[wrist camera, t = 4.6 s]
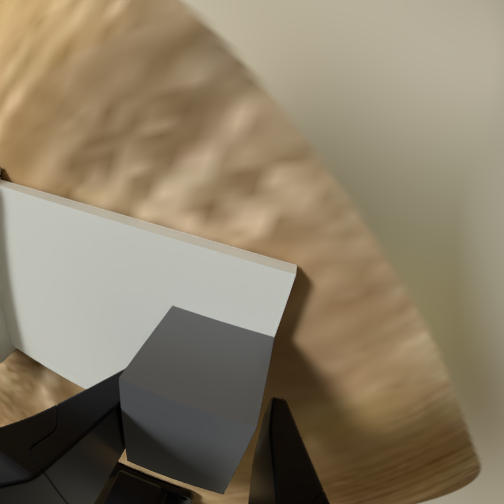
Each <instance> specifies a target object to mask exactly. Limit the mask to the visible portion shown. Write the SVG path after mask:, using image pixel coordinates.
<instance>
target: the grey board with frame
mask: <svg viewBox="0 0 504 504" xmlns="http://www.w3.org/2000/svg"><path fill="white" fill-rule="evenodd" d="M0 173H1V167H0ZM296 270H297V265H295V264H291V263H288V262H284V261H281V260H277V259H274V258H270V257H267V256H264V255H260V254H257V253H253V252H250V251H246V250H243V249H239V248H236V247H232V246H229V245H226V244H222V243H219V242H215V241H212V240H208V239H205V238H201V237H198V236H194V235H191V234H188V233H184V232H181V231H177V230H174V229H170V228H167V227H163V226H160V225H156V224H153V223H150V222H146V221H143V220H139V219H136V218H132V217H129V216H125V215H122V214H118V213H115V212H112V211H108V210H105V209H101V208H98V207H94V206H91V205H87V204H84V203H81V202H77V201H74V200H70V199H67V198H63V197H60V196H56V195H53V194H49V193H46V192H43V191H39V190H36V189H32V188H29V187H25V186H22V185H18V184H15V183H11V182H8V181H5V180H1V179H0V363H2V362H3V361H4V360H5V359H6V358H7V357H8V356H9V355H10V354H11V353H12V352H14V351H15V350H16V349H19V350H20V351H22V352H23V353H25V354H27V355H28V356H30V357H31V358H33V359H34V360H36V361H37V362H39V363H41V364H42V365H44V366H46V367H47V368H49V369H51V370H52V371H54V372H56V373H57V374H59V375H61V376H63V377H64V378H66V379H68V380H70V381H72V382H73V383H75V384H77V385H79V386H81V387H83V388H85V389H88V388H90V387H92V386H94V385H95V384H97V383H99V382H101V381H103V380H105V379H107V378H109V377H110V376H112V375H114V374H116V373H118V372H120V371H122V370H123V369H125V368H126V369H125V370H124V372H123V373H122V374H121V376H120V377H119V390H120V402H121V413H122V423H123V432H124V440H125V448H126V455H127V461H130V462H132V463H134V464H136V465H139V466H141V467H144V468H146V469H148V470H151V471H154V472H156V473H159V474H161V475H164V476H167V477H169V478H172V479H175V480H178V481H181V482H184V483H187V484H190V485H193V486H196V487H199V488H203V489H206V490H210V491H213V492H217V493H220V494H224V492H225V490H226V488H227V486H228V484H229V482H230V480H231V478H232V476H233V474H234V473H235V471H236V469H237V467H238V465H239V463H240V461H241V459H242V457H243V454H244V452H245V450H246V448H247V446H248V444H249V442H250V440H251V438H252V436H253V434H254V432H255V429H256V427H257V424H258V419H259V414H260V409H261V404H262V399H263V394H264V389H265V384H266V379H267V374H268V369H269V364H270V358H271V353H272V348H273V342H274V337H275V334H276V331H277V329H278V326H279V323H280V320H281V317H282V314H283V312H284V309H285V306H286V303H287V300H288V297H289V294H290V291H291V288H292V285H293V282H294V279H295V276H296Z"/></svg>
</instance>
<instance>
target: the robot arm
mask: <svg viewBox="0 0 504 504" xmlns="http://www.w3.org/2000/svg"><path fill="white" fill-rule="evenodd" d="M125 369H126V368H125ZM125 369H123V370H122V371H120V372H118V373H116V374H114V375H112V376H110V377H109V378H107V379H105V380H103V381H101V382H99V383H97V384H95V385H94V386H92V387H90V388H88V389H86V390H84V391H82V392H80V393H78V394H76V395H74V396H73V397H71V398H69V399H67V400H65V401H63V402H61V403H59V404H58V405H55V406H53V407H51V408H49V409H47V410H45V411H43V412H40V413H38V414H36V415H34V416H31V417H29V418H26V419H24V420H21V421H18V422H15V423H12V424H9V425H6V426H3V427H0V504H191V502H192V499H193V494H192V493H190V492H188V491H185V490H182V489H179V488H176V487H173V486H170V485H168V484H165V483H162V482H160V481H157V480H154V479H152V478H149V477H147V476H144V475H142V474H140V473H137V472H135V471H133V470H130V469H128V468H126V467H123V466H121V465H119V464H117V462H118V460H119V458H120V457H121V455H122V453H123V452H124V450H125V440H124V432H123V423H122V413H121V402H120V390H119V377H120V376H121V374H122V373H123V372H124V370H125ZM248 504H329V501H328V499H327V497H326V494H325V492H324V491H323V488H322V485H321V483H320V481H319V478H318V476H317V474H316V471H315V469H314V467H313V464H312V462H311V460H310V457H309V455H308V453H307V450H306V448H305V445H304V443H303V441H302V438H301V436H300V433H299V431H298V429H297V426H296V424H295V421H294V419H293V417H292V414H291V412H290V409H289V407H288V404H287V402H286V401H285V400H284V399H279V398H275V397H273V398H272V399H271V401H270V403H269V405H268V408H267V410H266V412H265V415H264V418H263V422H262V426H261V430H260V434H259V439H258V443H257V447H256V451H255V455H254V460H253V466H252V476H251V485H250V494H249V503H248Z"/></svg>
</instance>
